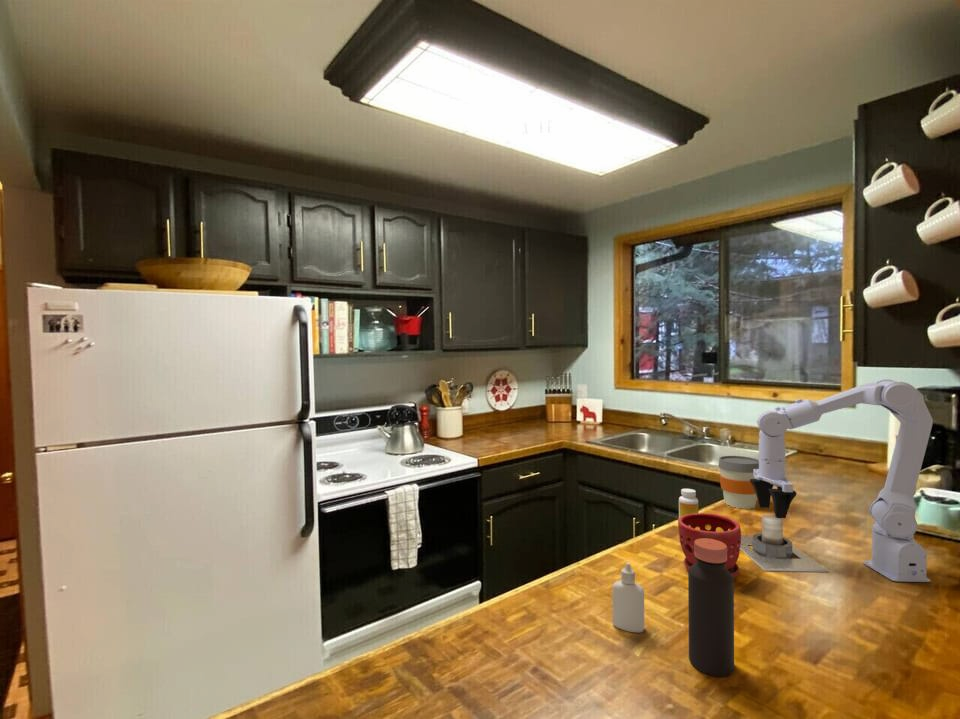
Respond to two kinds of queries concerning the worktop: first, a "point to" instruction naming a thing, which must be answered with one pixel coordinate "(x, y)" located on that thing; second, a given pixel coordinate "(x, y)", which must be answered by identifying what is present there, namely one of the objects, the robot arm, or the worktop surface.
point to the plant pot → (710, 536)
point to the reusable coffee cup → (738, 480)
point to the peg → (772, 530)
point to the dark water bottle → (711, 609)
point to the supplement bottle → (688, 502)
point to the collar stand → (778, 555)
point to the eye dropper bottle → (628, 602)
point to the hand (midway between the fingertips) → (772, 512)
